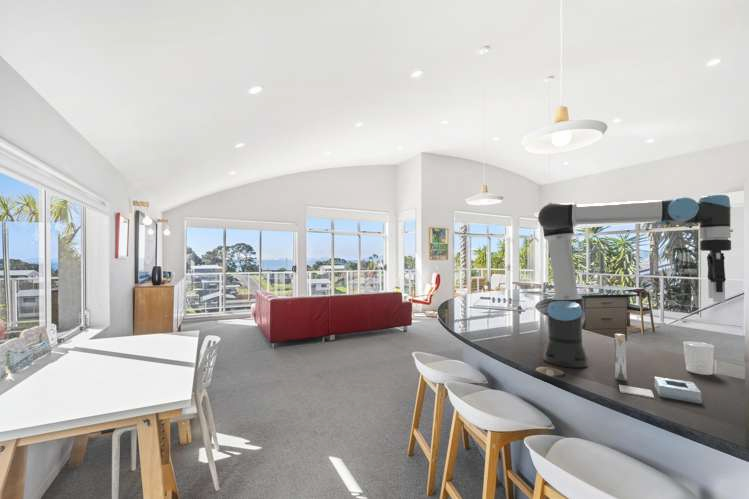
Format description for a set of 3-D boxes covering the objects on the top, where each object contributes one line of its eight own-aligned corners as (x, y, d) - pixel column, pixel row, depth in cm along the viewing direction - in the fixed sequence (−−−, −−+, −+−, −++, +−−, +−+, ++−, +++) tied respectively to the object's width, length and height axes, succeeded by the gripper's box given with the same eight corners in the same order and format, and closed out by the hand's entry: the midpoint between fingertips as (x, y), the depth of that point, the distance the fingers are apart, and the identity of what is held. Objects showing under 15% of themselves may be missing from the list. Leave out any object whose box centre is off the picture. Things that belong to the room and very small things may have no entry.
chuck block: (659, 396, 97) (659, 385, 97) (654, 386, 104) (654, 376, 104) (701, 403, 92) (701, 392, 92) (693, 392, 99) (693, 382, 99)
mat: (620, 392, 100) (620, 390, 100) (618, 385, 105) (618, 384, 105) (654, 398, 96) (654, 396, 96) (651, 391, 101) (651, 390, 101)
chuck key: (616, 380, 109) (614, 335, 110) (614, 375, 114) (613, 332, 115) (627, 382, 108) (626, 336, 108) (625, 377, 113) (624, 333, 113)
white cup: (717, 377, 112) (716, 348, 112) (685, 372, 117) (684, 344, 117) (712, 371, 118) (711, 343, 119) (682, 366, 123) (681, 340, 123)
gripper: (737, 237, 103) (738, 304, 102) (725, 240, 122) (726, 297, 121) (703, 238, 108) (704, 302, 107) (697, 241, 127) (698, 296, 126)
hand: (716, 300), depth 114 cm, fingers open, 13 cm apart
